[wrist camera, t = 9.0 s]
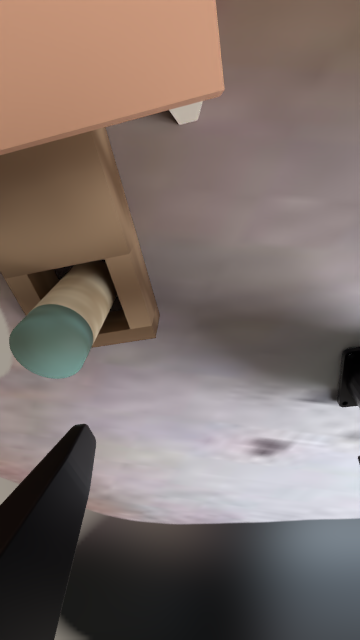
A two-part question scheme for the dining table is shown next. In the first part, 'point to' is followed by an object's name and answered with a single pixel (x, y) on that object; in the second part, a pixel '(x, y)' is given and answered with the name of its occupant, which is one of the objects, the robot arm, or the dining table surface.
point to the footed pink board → (102, 65)
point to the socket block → (73, 229)
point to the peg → (65, 322)
